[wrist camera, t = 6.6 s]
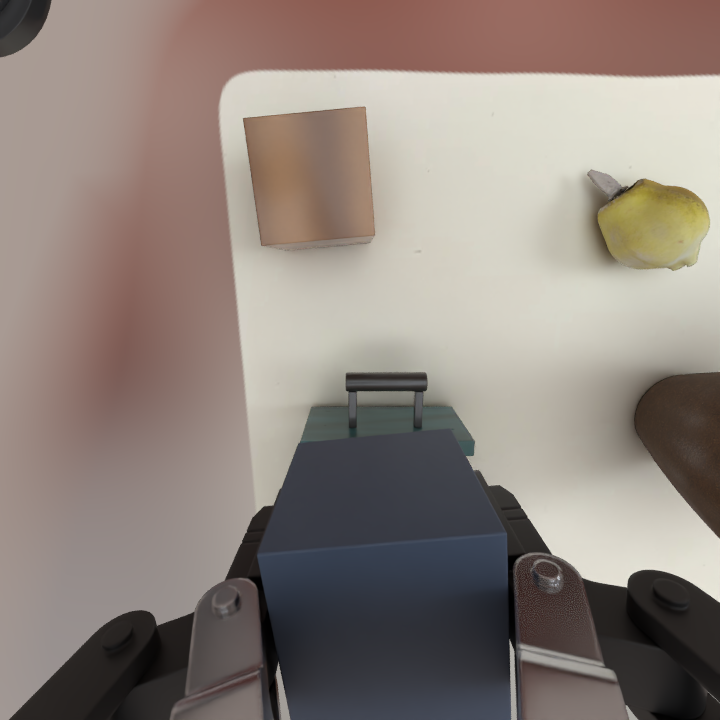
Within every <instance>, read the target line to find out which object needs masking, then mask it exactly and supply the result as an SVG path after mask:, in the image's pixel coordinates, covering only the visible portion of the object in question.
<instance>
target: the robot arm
mask: <svg viewBox="0 0 720 720" xmlns="http://www.w3.org/2000/svg"><path fill="white" fill-rule="evenodd" d="M8 1H9V0H0V12H1V11H2V10H3V8H4V7H5V6H6V4H7V3H8ZM474 473H475V474H476V476H477V478H478V480H479V482H480V484H481V486H482V488H483V489H484V491H485V493H486V495H487V497H488V499H489V501H490V503H491V504H492V506H493V508H494V510H495V512H496V514H497V516H498V517H499V519H500V521H501V523H502V525H503V527H504V529H505V531H506V532H507V554H508V600H509V639H510V641H511V644H512V646H513V648H514V651H515V652H514V653H515V682H516V683H515V684H516V707H517V720H629V717H628V714H627V710H626V706H625V705H627V706H628V707H629V709H630V710H631V711H632V712H633V714H634V715H635V716H636V717H637V718H638V720H720V703H719V702H720V603H719V602H718V601H716V600H715V599H714V598H712V597H711V596H709V595H708V594H707V593H705V592H704V591H702V590H701V589H699V588H698V587H697V586H695V585H693V584H692V583H690V582H688V581H687V580H685V579H683V578H680V577H678V576H676V575H673V574H670V573H666V572H662V571H657V570H642V571H638V572H636V573H633V574H632V575H631V576H630V578H629V579H628V585H627V588H626V587H620V586H614V585H608V584H602V583H597V582H593V581H589V580H586V579H583V578H582V577H581V576H580V574H579V572H578V571H577V570H576V569H575V568H574V567H573V566H572V565H571V564H569V563H568V562H566V561H565V560H563V559H561V558H559V557H556V556H554V555H552V553H551V552H550V550H549V549H548V547H547V546H546V544H545V543H544V541H543V540H542V538H541V537H540V535H539V534H538V532H537V530H536V529H535V527H534V526H533V524H532V523H531V521H530V520H529V519H528V518H527V515H526V514H525V512H524V511H523V509H521V506H520V504H519V503H518V501H517V500H516V498H515V497H514V495H513V494H511V493H510V492H509V491H507V490H506V489H504V488H503V487H501V486H500V485H497V486H488V485H487V483H486V481H485V479H484V478H483V476H482V474H481V472H480V471H479V470H476V471H474ZM281 489H282V488H281ZM281 489H280V490H279V493H278V495H277V498H276V501H275V503H274V506H264V507H263V508H262V509H261V510H260V511H259V512H258V513H257V514H256V515H255V516H254V517H253V518H252V520H251V522H250V525H249V527H248V529H247V533H246V534H245V536H244V538H243V540H242V544H241V545H240V547H239V549H238V552H237V554H236V556H235V559H234V561H233V563H232V565H231V567H230V570H229V572H228V574H227V576H226V579H225V581H223V582H221V583H219V584H217V585H215V586H214V587H212V588H211V589H210V590H209V591H207V592H206V593H205V594H204V595H203V597H202V598H201V599H200V600H199V602H198V604H197V606H196V608H195V612H193V613H191V614H188V615H186V616H183V617H180V618H178V619H175V620H172V621H169V622H166V623H164V624H161V625H158V626H157V625H156V621H155V618H154V616H153V615H152V614H151V613H150V612H147V611H142V610H139V611H132V612H128V613H125V614H123V615H121V616H118V617H116V618H114V619H113V620H111V621H110V622H108V623H106V624H105V625H104V626H103V627H101V628H100V629H99V630H98V631H97V632H96V633H95V634H93V635H92V636H91V637H90V638H89V640H88V641H86V643H84V645H83V646H82V647H81V648H80V649H79V650H78V651H77V652H76V653H75V654H74V655H73V656H72V657H71V658H70V659H69V660H68V661H67V662H66V663H65V664H64V665H63V666H62V667H61V668H60V669H59V670H58V671H57V672H56V673H55V674H54V675H53V676H52V677H51V678H50V679H49V680H48V681H47V682H46V683H45V684H44V685H43V686H42V687H41V688H40V689H39V690H38V691H37V692H36V693H35V694H34V695H33V696H32V697H31V698H30V699H29V700H28V701H27V702H26V703H25V704H24V705H23V706H22V707H21V708H20V709H19V710H18V711H17V712H16V713H15V714H14V715H13V716H12V717H11V718H10V719H9V720H281V714H280V713H281V712H280V703H279V693H278V684H277V679H276V671H277V666H278V656H277V651H276V646H275V641H274V636H273V632H272V627H271V622H270V617H269V612H268V607H267V603H266V598H265V593H264V588H263V583H262V578H261V573H260V569H259V564H258V559H257V552H258V550H259V547H260V544H261V542H262V539H263V537H264V534H265V531H266V529H267V526H268V523H269V521H270V518H271V515H272V513H273V510H274V507H275V505H276V502H277V499H278V497H279V494H280V491H281ZM708 692H709V693H710V694H711V695H712V696H714V697H715V698H716V699H717V700H718V701H719V702H718V701H717V700H716V699H715V698H713V697H712V696H711V695H710V694H709V693H708Z"/></svg>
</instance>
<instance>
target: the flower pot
mask: <svg viewBox="0 0 720 720" xmlns="http://www.w3.org/2000/svg"><path fill="white" fill-rule="evenodd" d="M635 427H636V431H637V433H638V435H639V437H640V439H641V440H642V442H643V444H644V445H645V447H646V448H647V450H648V451H649V453H650V454H651V456H652V457H653V459H654V461H655V462H656V463H657V465H658V466H659V467H660V469H661V470H662V471H663V473H664V474H665V475H666V477H667V478H668V479H669V481H670V482H671V483H672V485H673V486H674V487H675V488H676V490H677V491H678V492H679V493H680V495H681V496H682V497H683V498H684V499H685V500H686V502H687V503H688V504H689V505H690V506H691V508H692V509H693V510H694V511H695V512H696V513H697V514H698V515H699V517H700V518H701V519H702V520H703V521H704V522H705V523H706V524H707V526H708V527H709V528H710V529H711V530H712V531H713V532H714V533H715V534H716V535H717V536H718V537H719V538H720V372H714V373H696V374H685V375H676V376H672V377H669V378H666V379H664V380H662V381H660V382H658V383H657V384H655V385H654V386H653V387H651V388H650V389H649V390H648V391H647V393H646V394H645V395H644V396H643V398H642V399H641V401H640V403H639V405H638V407H637V410H636V414H635Z"/></svg>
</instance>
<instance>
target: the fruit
mask: <svg viewBox="0 0 720 720" xmlns="http://www.w3.org/2000/svg"><path fill="white" fill-rule="evenodd" d="M587 175H588V176H589V177H590V179H591V180H592V182H593V183H594V184H595V185H596V186H597V187H598V188H599V189H600V190H602V191H603V192H604V193H606V195H607V196H608V197H609V200H608V201H609V202H608V203H607V204H606V205H605V206H604V207H601V209H600V210H599V212H598V223H599V225H600V228H601V231H602V234H603V236H604V239H605V241H606V244H607V247H608V250H609V252H610V253H611V255H612V256H613V257H614V258H615V259H616V260H617V261H618V262H620V263H621V264H623V265H625V266H627V267H631V268H635V269H655V268H669V269H671V270H672V271H674V270H678V269H680V268H682V267H683V266H685V265H687V267H690V266H692V265H694V264H695V263H696V262H697V260H698V253H699V250H700V245H701V242H702V240H703V239H704V237H705V236H706V235H707V233H708V230H709V227H710V219H709V214H708V210H707V208H706V206H705V204H704V202H703V201H702V200H701V199H700V198H699V197H698V196H697V195H696V194H694V193H693V192H691V191H689V190H687V189H685V188H682V187H677V186H664V185H661V184H659V183H656V182H654V181H650V180H647V179H640V180H638V181H637V182H636V183H634V184H633V186H631V187H629V188H628V186H626V187H621V185H620V184H619V183H618V182H617V181H616V180H615V179H613V178H612V177H611V176H610V175H608V174H605V173H601V172H598V171H594V170H590V171H589V172H588V174H587ZM627 188H628V189H627ZM626 189H627V190H626ZM625 190H626V191H625ZM624 191H625V192H624ZM617 196H619V197H617ZM614 197H615V198H614ZM611 199H612V200H611ZM610 200H611V201H610Z"/></svg>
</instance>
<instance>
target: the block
mask: <svg viewBox="0 0 720 720" xmlns="http://www.w3.org/2000/svg"><path fill="white" fill-rule="evenodd" d="M257 559H258V564H259V569H260V573H261V578H262V583H263V588H264V593H265V598H266V603H267V607H268V612H269V617H270V622H271V627H272V632H273V636H274V641H275V646H276V651H277V656H278V661H279V666H280V670H281V675H282V680H283V685H284V690H285V694H286V699H287V704H288V709H289V714H290V719H291V720H511V694H510V693H511V692H510V645H509V600H508V554H507V532H506V531H505V529H504V527H503V525H502V523H501V521H500V519H499V517H498V516H497V514H496V512H495V510H494V508H493V506H492V504H491V503H490V501H489V499H488V497H487V495H486V493H485V491H484V489H483V488H482V486H481V484H480V482H479V480H478V478H477V476H476V474H475V473H474V471H473V469H472V467H471V465H470V463H469V461H468V459H467V458H466V456H465V454H464V452H463V450H462V448H461V446H460V444H459V443H458V441H457V439H456V437H455V435H454V433H453V431H452V430H451V429H450V428H448V429H438V430H427V431H417V432H407V433H396V434H386V435H376V436H365V437H355V438H345V439H334V440H324V441H314V442H303V443H298V446H297V449H296V451H295V454H294V457H293V459H292V462H291V465H290V467H289V470H288V473H287V475H286V478H285V481H284V483H283V486H282V489H281V491H280V494H279V497H278V499H277V502H276V505H275V507H274V510H273V513H272V515H271V518H270V521H269V523H268V526H267V529H266V531H265V534H264V537H263V539H262V542H261V544H260V547H259V550H258V552H257Z"/></svg>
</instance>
